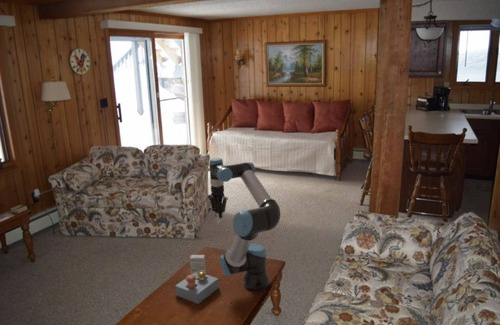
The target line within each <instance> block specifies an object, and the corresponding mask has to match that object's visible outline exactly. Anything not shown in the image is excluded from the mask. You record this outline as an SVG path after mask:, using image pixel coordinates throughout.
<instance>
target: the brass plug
mask: <svg viewBox="0 0 500 325" xmlns="http://www.w3.org/2000/svg"><path fill="white" fill-rule="evenodd" d="M207 272H208V271H207V270H206V271H205V270H199V271H198V272H197V276H198V277H199V280H200V281H202V282H203V281H204V280H206V275H208V274H207Z"/></svg>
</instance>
